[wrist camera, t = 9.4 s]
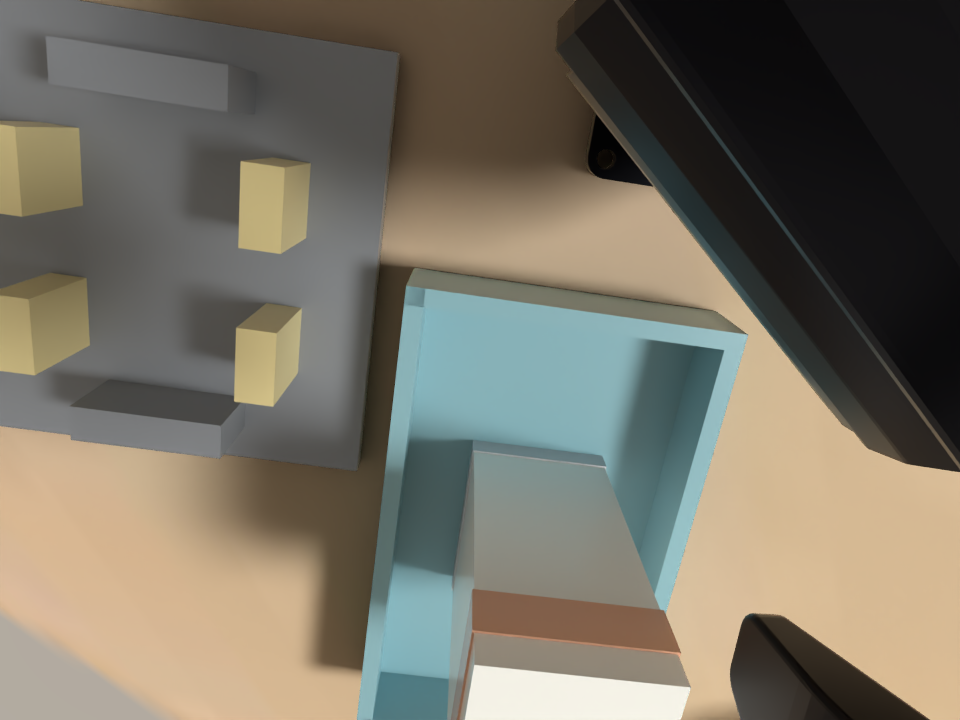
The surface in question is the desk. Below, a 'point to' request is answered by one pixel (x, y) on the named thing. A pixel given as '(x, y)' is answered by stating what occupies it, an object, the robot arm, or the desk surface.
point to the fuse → (554, 598)
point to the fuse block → (189, 231)
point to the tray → (530, 442)
